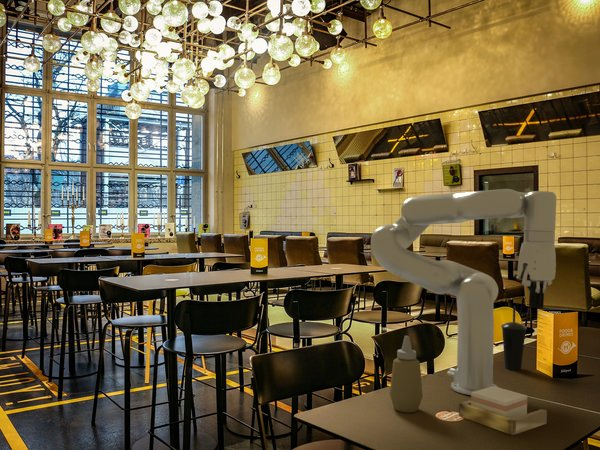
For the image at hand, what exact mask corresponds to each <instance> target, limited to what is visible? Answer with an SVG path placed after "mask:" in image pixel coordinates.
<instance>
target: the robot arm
mask: <svg viewBox="0 0 600 450" xmlns="http://www.w3.org/2000/svg"><path fill="white" fill-rule="evenodd" d="M400 213H401V215H400V217H399V218H398V219H397V220H395V221H394V222H393V224H384V225H381V226H379V227H378V228H376V229H375V230H374V231H373V233H371V237H370V248H371V253H372V255H373V257H374V259H375V261H376V262H377V263H378V264H379V266H380V267H382V268H383V269H384V270H385V271H387V272H388V273H390V274H392V275H394V276H396V277H398V278H400V279H403V280H404V281H407V282H410V283H412V284H414V285H415V286H419V287H421V288H423V289H425V290H428V291H430V292H432V293H434V294H437V295H445V294H450V295H452V296H454V297H456V309H457V312H456V313H457V343H456V345H457V350H456V352H457V354H456V355H457V356H456V368H454V367H450V368H449V369H448V370H447V373H446V375H447V376H448V377H451V378H453V381H452V382H451V383H450V388H451V390H453V391H454V392H457V393H459V394H463V395H467V396H471V392H474V391H478V390H481V389H485V388H489V387H492V386H495V387H498V385H496V384H495V383H494V341H495V340H494V337H495V336H494V335H495V333H494V329H495V328H494V325H495V324H494V322H495V321H494V318H495V317H494V302H495V300H496V299H497V298H498V295H499V287H498V284H497V282H496V280H495V279H494V278H493V277H492V276H490V275H489V274H486V273H485V272H482V271H480V270H477V269H473V268H471V267H469V266H466V265H463V264H460V263H459V262H456V261H452V260H447V259H442V260H441V259H440V260H435V259H433V258H430V257H427V256H424V255H422V254H419V253H417V252H415V251H412V250H409V249H408V248H410V246H411V245H412V244H413V243H414V242H415V241H416V240H417V239H418V238H419V237H420V236H421V235H422V234H423V233H424V232H425V231H426V229H428V227H429V226H430V225H442V224H443V225H444V224H445V225H446V224H461V223H464V222H468V221H474V220H485V219H506V218H507V219H515V218H516V219H518V218H524V224H523V225H524V226H523V230H524V231H523V242H521V246H520V250H519V255H518V263H517V279H519V280H522V281H521V285H522V286H525V287H527V291H528V292H529V298H528V299H529V300H528V306H529V307H530V308H535V309H543V308H544V306H545V305H544V304H545V303H544V302H545V301H544V300H545V293H546V291H547V287H548V286H551V285H552V284H553V280H555V278H556V272H557V271H556V269H557V259H556V257H557V255H556V254H557V253H556V247H555V246H556V245H555V243H556V239H555V238H556V219H557V217H556V216H557V195H556V193H555V192H553V191H548V190H545V191H544V190H533V191H532V190H531V191H529V192H521V191H516V190H514V189H511V188H500V189H489V190H487V189H486V190H477V191H476V190H475V191H468V192H465V191H464V192H462V191H461V192H451V193H440V194H430V195H429V194H427V195H416V196H411V197H409V198H407V199H406V200H405V199H404V201H403V202H402V205H401V207H400Z"/></svg>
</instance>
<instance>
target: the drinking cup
mask: <svg viewBox="0 0 600 450" xmlns="http://www.w3.org/2000/svg"><path fill="white" fill-rule="evenodd" d="M500 326H501V327H500V328H501V329H502V330H501V331H502V343H503V346H502V347H503V357H504V358H503V359H504V368H505V369H506V370H509V371H521V370H522V365H523V357H524V356H523V355H524V347H525V340H526V330H527V328H528V327H527V326H526V325H524V324H523V323H519V322H516V306H515V305H513V307H512V321H508V322H506V323H503V324H501V325H500Z"/></svg>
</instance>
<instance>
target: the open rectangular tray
mask: <svg viewBox="0 0 600 450" xmlns="http://www.w3.org/2000/svg"><path fill="white" fill-rule="evenodd" d="M458 416H459V417H461V418H464V419H466V420H469V421H471V422H475V423H478V424H479V425H484V426H486V427H488V428H491V429H494V430H498V431H499V432H503V433H506V434H508V435H511V436H515V435H517V434H521V433H523V432H526V431H529V430H532V429H535V428H537V427H541V426H543V425H546V424H547V423H548V421H547V419H548V418H547V417H548V410H546V409H542V408H540V409H538V410H535V411H531V412H529V413H528V412H527V414H525V415H522V416H519V417H516V418H512V419H510V418H507V417H504V416H501V415H498V414H495V413H492V412H489V411H486V410H483V409H480V408H477V407H474V406H471V399H470V400H466V401H463V402H459V404H458Z"/></svg>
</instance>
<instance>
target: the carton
mask: <svg viewBox="0 0 600 450" xmlns="http://www.w3.org/2000/svg"><path fill="white" fill-rule="evenodd" d="M470 400H471V406H474V407H477V408H480V409H483V410H486V411H489V412H492V413H495V414H498V415H501V416H504V417H507V418H510V419H512V418H516V417H519V416H522V415H525V414H528V395H526V394H523V393H519V392H516V391H514V390H513V391H512V390H509V389H505V388H501V387H499V386H497V387H495V386H492V387H489V388H485V389H481V390H478V391H474V392H471V395H470Z"/></svg>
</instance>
